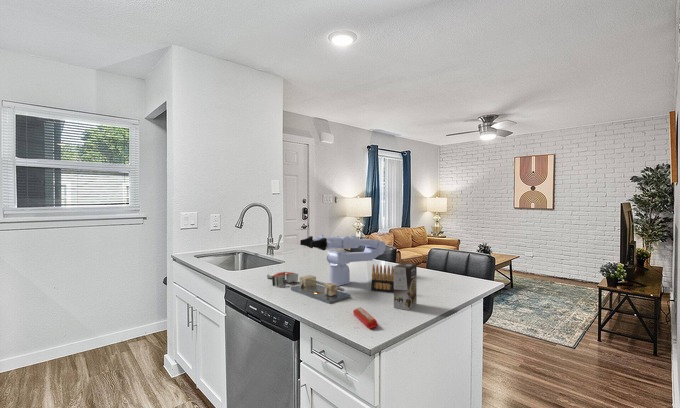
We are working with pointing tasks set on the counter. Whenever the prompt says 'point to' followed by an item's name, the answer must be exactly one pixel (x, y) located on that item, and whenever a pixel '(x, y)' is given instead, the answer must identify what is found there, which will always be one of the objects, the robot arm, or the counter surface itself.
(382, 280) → the ammunition clip
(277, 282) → the tape dispenser
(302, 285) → the trammel beam
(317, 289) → the bolt plate
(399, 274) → the coffee box
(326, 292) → the trammel slider
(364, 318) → the candy bar
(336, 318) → the counter surface
